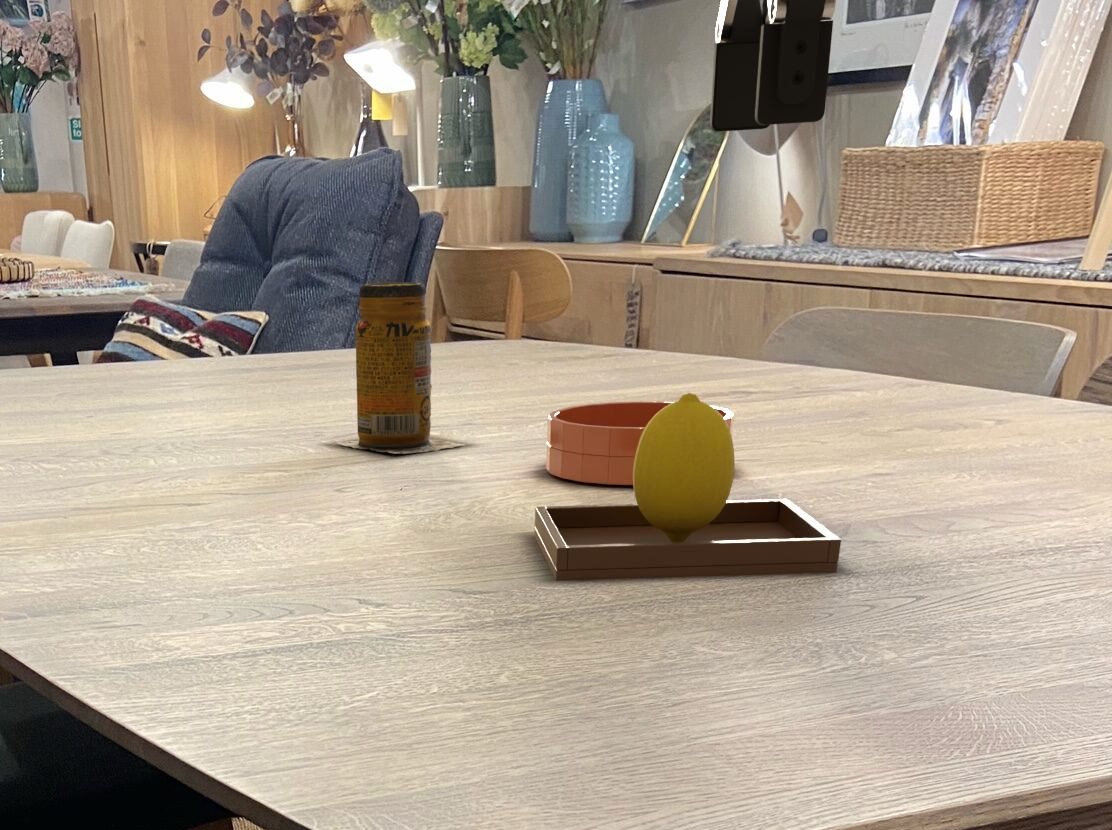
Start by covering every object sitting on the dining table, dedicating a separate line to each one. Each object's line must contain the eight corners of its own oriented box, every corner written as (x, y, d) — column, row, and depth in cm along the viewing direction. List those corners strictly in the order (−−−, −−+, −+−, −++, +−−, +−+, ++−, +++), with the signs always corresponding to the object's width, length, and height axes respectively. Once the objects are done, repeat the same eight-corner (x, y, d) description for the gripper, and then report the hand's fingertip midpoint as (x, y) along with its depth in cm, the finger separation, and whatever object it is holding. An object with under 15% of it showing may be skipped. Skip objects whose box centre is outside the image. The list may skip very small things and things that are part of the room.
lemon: (621, 534, 85) (630, 388, 81) (714, 531, 85) (728, 385, 81) (637, 556, 80) (648, 401, 76) (737, 552, 80) (752, 398, 76)
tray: (784, 529, 88) (787, 498, 87) (836, 573, 78) (841, 539, 77) (534, 537, 88) (535, 506, 87) (555, 582, 78) (557, 548, 77)
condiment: (404, 435, 123) (402, 279, 117) (466, 447, 117) (467, 282, 111) (333, 445, 120) (328, 285, 114) (394, 458, 114) (391, 289, 108)
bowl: (706, 454, 111) (711, 399, 109) (745, 486, 100) (752, 424, 98) (537, 460, 111) (539, 404, 109) (557, 492, 100) (560, 430, 98)
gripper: (950, -390, 57) (893, 115, 66) (824, -270, 72) (791, 128, 81) (761, -377, 57) (728, 125, 66) (674, -261, 72) (657, 136, 81)
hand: (763, 126), depth 73 cm, fingers open, 9 cm apart
